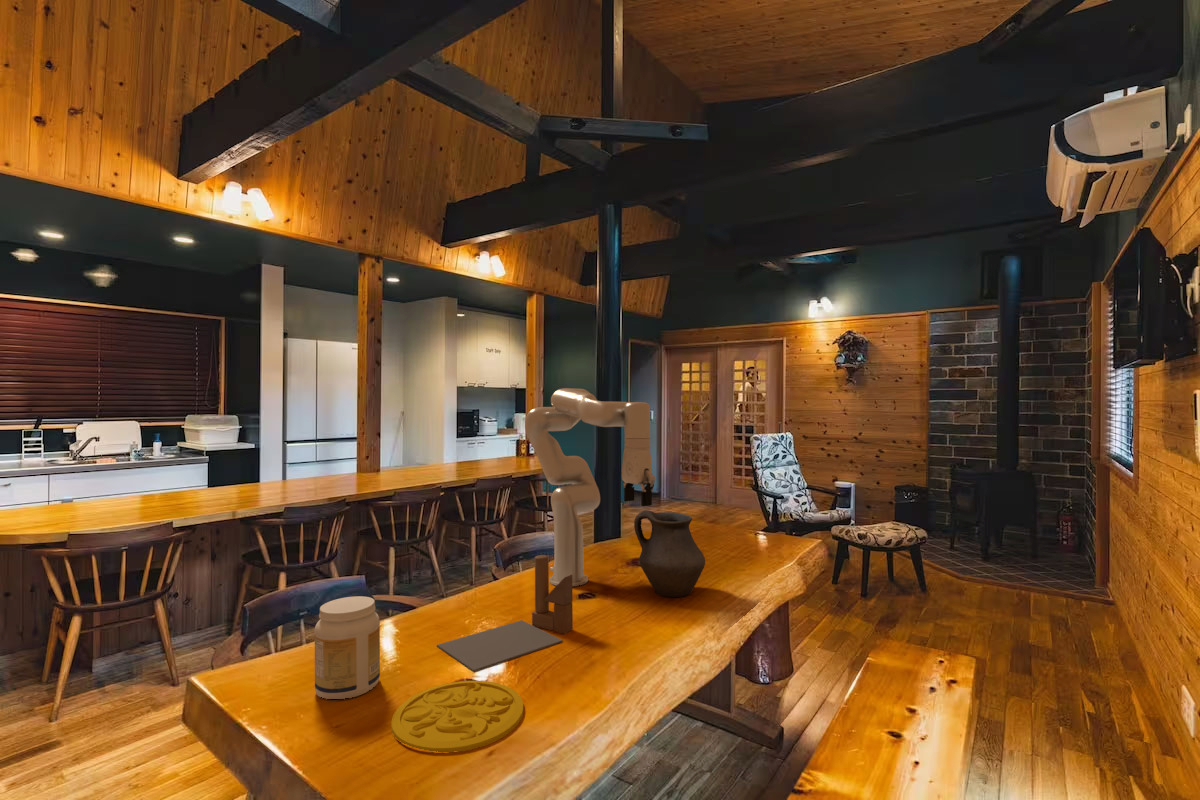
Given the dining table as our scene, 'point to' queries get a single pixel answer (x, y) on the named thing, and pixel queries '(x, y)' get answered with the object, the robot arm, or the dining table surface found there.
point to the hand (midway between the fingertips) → (637, 503)
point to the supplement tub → (347, 648)
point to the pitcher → (669, 553)
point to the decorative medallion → (458, 716)
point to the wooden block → (552, 600)
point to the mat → (498, 645)
